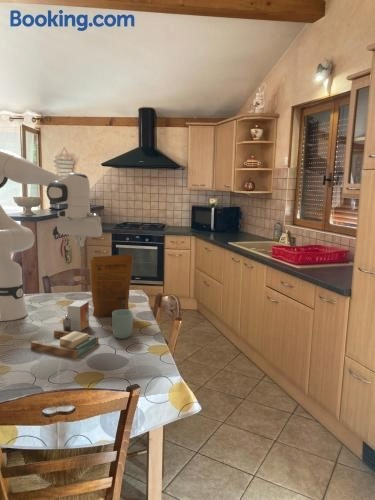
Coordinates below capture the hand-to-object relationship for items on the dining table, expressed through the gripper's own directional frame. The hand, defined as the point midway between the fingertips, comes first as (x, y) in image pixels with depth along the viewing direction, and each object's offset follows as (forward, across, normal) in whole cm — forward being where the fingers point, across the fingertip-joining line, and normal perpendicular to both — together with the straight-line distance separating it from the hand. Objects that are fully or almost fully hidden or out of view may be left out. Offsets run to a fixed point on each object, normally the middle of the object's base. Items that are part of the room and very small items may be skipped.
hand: (79, 246), depth 164 cm
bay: (+33, -11, +24) cm, 42 cm away
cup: (+33, -25, +8) cm, 42 cm away
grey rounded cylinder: (+33, -4, +15) cm, 36 cm away
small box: (+33, -4, +7) cm, 34 cm away
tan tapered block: (+33, -15, +25) cm, 44 cm away
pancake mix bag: (+33, -8, -12) cm, 36 cm away
